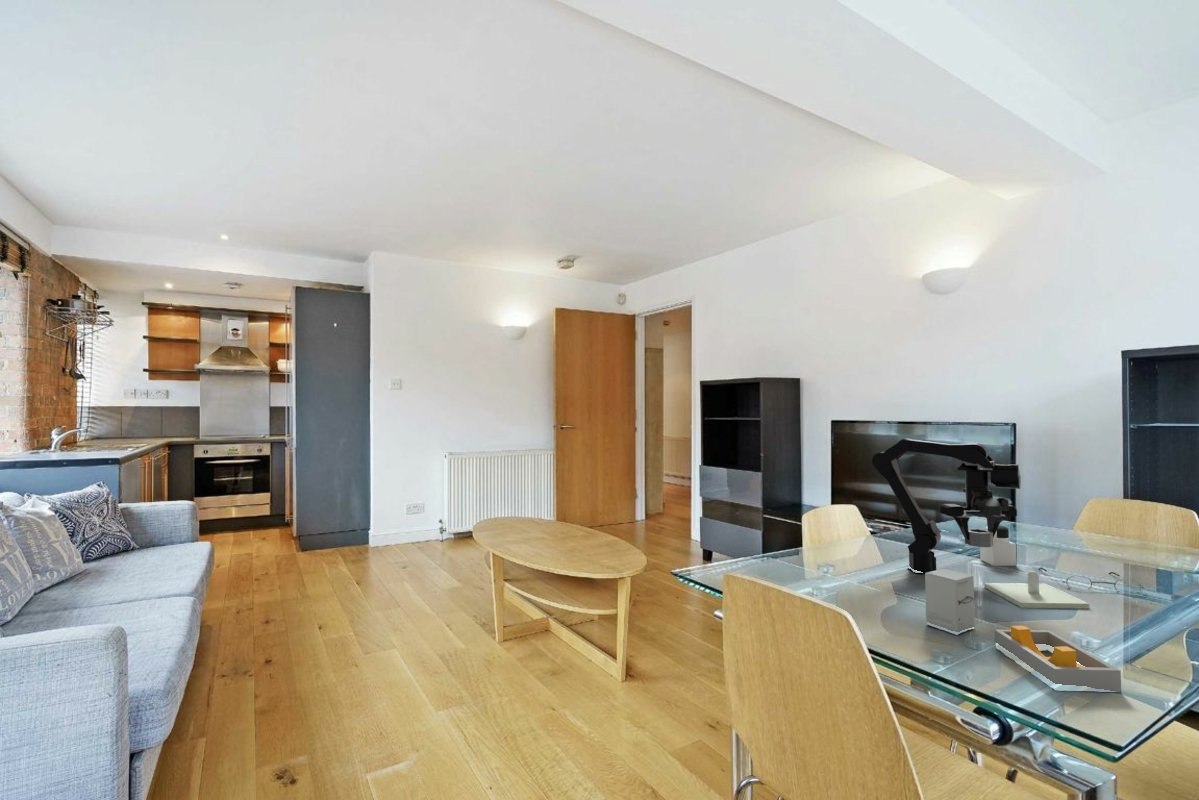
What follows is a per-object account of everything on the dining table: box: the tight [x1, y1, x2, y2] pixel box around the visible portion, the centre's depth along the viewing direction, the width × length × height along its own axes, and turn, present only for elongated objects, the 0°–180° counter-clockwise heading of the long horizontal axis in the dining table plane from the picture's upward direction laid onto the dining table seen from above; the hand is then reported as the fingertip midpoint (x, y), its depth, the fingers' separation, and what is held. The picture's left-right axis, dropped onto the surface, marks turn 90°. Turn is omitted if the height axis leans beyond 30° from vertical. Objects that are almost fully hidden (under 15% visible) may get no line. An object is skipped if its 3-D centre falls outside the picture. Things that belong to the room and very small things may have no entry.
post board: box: [983, 570, 1090, 609], centre depth 148 cm, size 16×16×7 cm
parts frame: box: [994, 628, 1122, 693], centre depth 109 cm, size 11×18×4 cm, turn 174°
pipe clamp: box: [1010, 624, 1083, 667], centre depth 109 cm, size 12×4×6 cm, turn 4°
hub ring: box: [964, 528, 993, 548], centre depth 163 cm, size 6×6×4 cm
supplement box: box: [924, 568, 976, 632], centre depth 130 cm, size 7×7×13 cm
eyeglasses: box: [1038, 567, 1146, 592], centre depth 161 cm, size 18×19×4 cm
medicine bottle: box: [979, 524, 1017, 567], centre depth 180 cm, size 7×7×12 cm
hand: (978, 539), depth 163 cm, fingers closed on hub ring, 6 cm apart
